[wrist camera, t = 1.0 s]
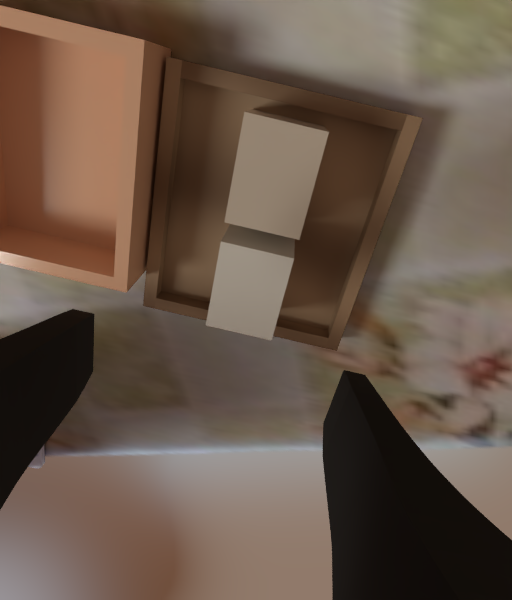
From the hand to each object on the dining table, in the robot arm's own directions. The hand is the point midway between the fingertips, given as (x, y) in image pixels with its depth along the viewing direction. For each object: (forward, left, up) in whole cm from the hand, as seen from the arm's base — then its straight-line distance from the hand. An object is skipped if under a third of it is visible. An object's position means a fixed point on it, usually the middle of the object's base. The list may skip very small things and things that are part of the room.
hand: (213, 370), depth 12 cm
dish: (+3, +9, -9) cm, 13 cm away
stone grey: (0, 0, -9) cm, 9 cm away
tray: (+2, 0, -9) cm, 10 cm away
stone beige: (+4, 0, -9) cm, 10 cm away
